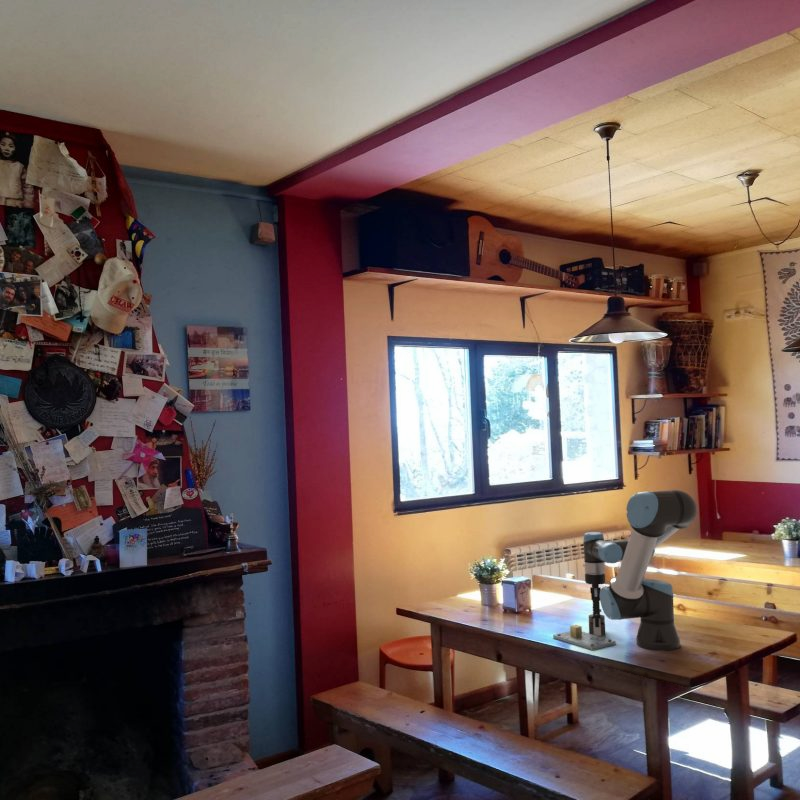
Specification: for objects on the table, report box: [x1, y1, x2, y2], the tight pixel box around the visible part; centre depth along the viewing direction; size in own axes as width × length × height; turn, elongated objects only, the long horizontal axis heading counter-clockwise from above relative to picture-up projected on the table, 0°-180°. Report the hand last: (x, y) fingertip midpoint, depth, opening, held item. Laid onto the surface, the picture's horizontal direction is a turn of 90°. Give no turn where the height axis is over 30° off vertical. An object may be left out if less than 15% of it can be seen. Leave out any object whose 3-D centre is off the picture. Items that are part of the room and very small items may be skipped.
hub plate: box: [552, 624, 617, 651], centre depth 294 cm, size 20×12×5 cm, turn 32°
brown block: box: [588, 613, 606, 636], centre depth 304 cm, size 6×6×7 cm
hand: (597, 632), depth 304 cm, fingers open, 8 cm apart
